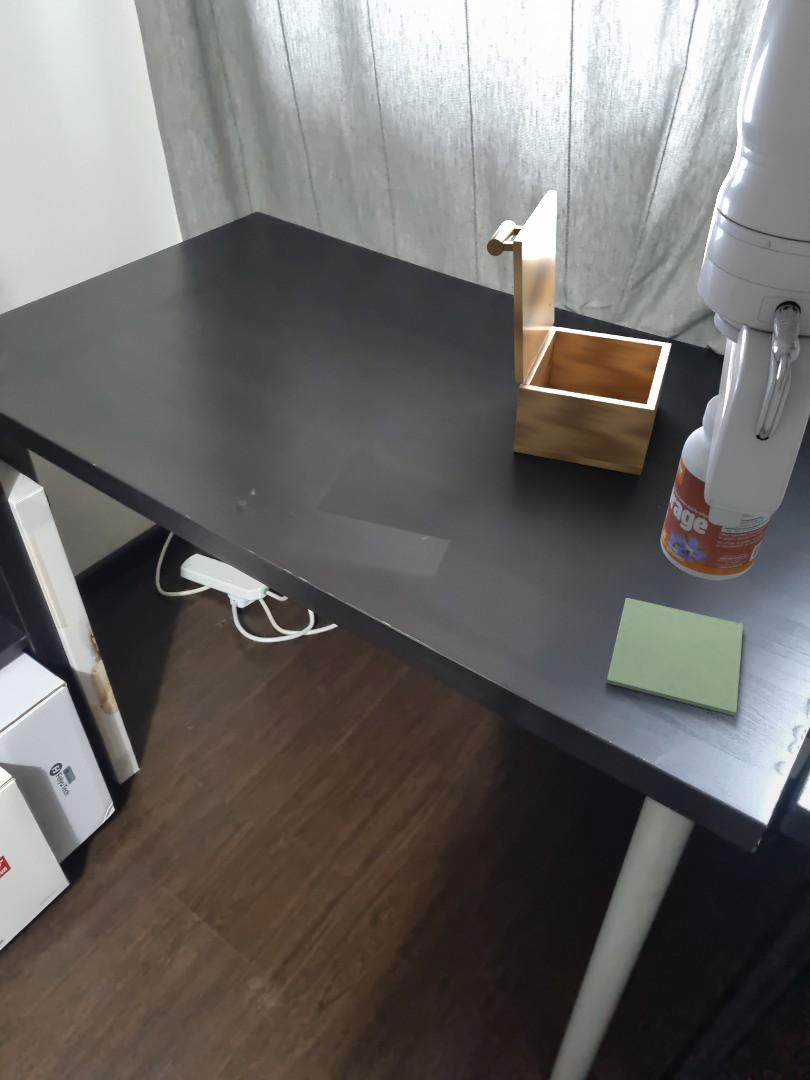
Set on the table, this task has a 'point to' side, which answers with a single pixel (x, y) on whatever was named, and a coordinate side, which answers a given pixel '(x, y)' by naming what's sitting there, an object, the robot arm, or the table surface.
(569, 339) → the chest
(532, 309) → the chest lid
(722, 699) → the mat
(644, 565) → the table surface
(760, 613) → the table surface
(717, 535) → the pill bottle
